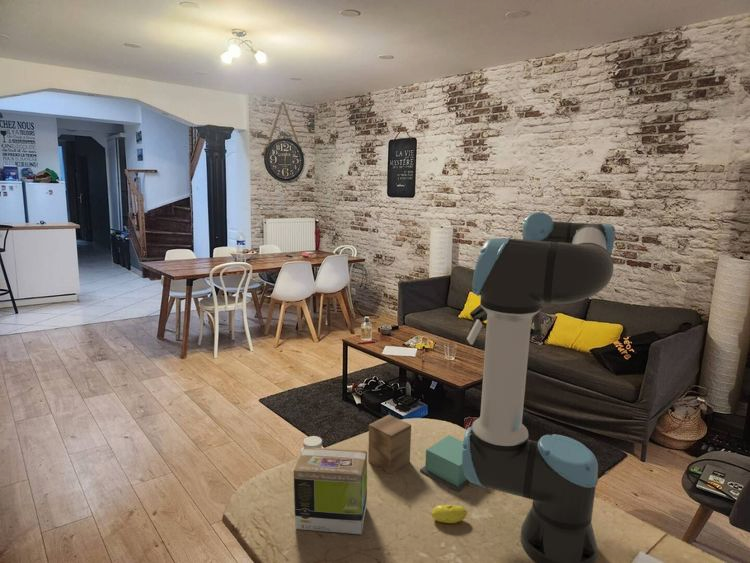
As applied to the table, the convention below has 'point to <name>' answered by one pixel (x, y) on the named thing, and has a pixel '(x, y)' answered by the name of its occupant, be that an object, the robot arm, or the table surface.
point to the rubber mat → (456, 488)
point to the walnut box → (389, 443)
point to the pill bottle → (312, 442)
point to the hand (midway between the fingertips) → (491, 348)
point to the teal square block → (446, 460)
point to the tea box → (330, 490)
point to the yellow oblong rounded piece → (449, 513)
